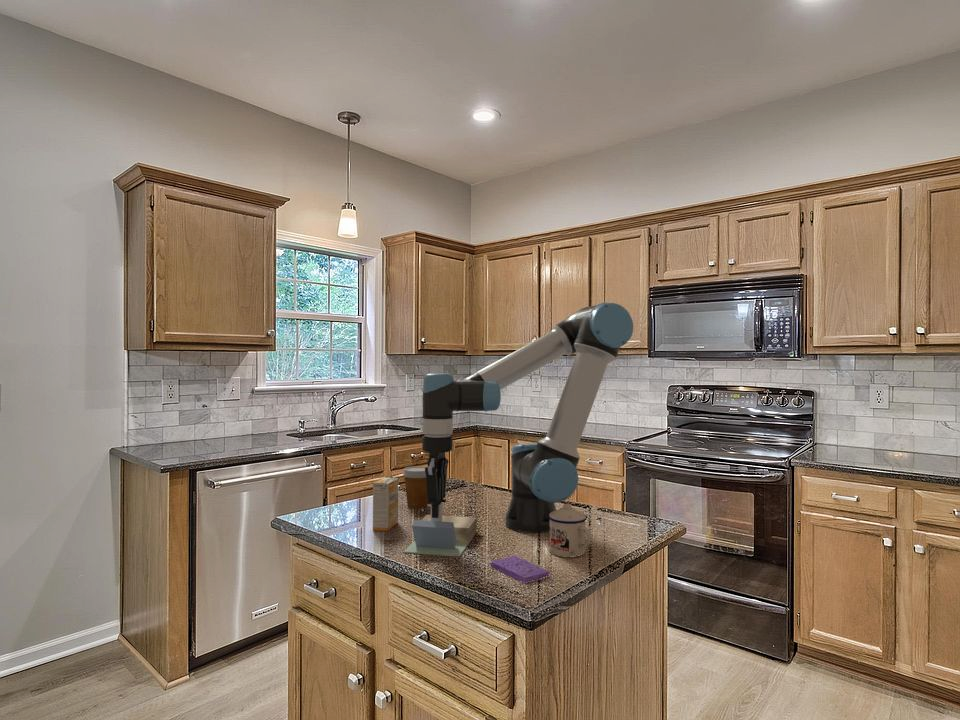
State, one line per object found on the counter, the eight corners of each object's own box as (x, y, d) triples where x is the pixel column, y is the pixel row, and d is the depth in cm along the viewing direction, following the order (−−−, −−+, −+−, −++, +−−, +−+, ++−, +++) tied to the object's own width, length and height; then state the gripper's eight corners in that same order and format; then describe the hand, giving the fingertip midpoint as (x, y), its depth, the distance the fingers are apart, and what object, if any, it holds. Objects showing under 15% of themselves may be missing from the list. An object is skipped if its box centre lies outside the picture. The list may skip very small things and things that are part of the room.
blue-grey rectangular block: (453, 522, 140) (451, 528, 138) (456, 542, 143) (455, 549, 142) (414, 519, 142) (411, 525, 140) (418, 540, 145) (416, 546, 144)
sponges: (524, 586, 121) (524, 577, 121) (489, 568, 131) (490, 559, 131) (549, 579, 125) (550, 570, 125) (514, 562, 135) (514, 554, 135)
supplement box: (388, 531, 157) (388, 483, 157) (372, 530, 158) (372, 482, 158) (399, 523, 165) (399, 477, 165) (383, 522, 166) (383, 476, 166)
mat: (468, 544, 147) (468, 542, 147) (459, 556, 137) (459, 555, 137) (415, 540, 149) (415, 539, 149) (403, 552, 140) (403, 551, 140)
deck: (476, 532, 157) (476, 517, 157) (468, 543, 147) (468, 528, 147) (427, 529, 159) (427, 514, 159) (415, 540, 150) (416, 524, 149)
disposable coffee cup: (431, 510, 179) (431, 471, 179) (400, 510, 179) (400, 471, 179) (433, 502, 189) (434, 466, 188) (404, 502, 189) (404, 465, 189)
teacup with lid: (540, 550, 142) (541, 503, 142) (566, 543, 147) (566, 498, 147) (577, 564, 132) (577, 513, 132) (603, 556, 138) (603, 507, 138)
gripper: (430, 431, 151) (429, 521, 151) (414, 437, 138) (413, 536, 138) (458, 432, 150) (457, 523, 150) (444, 439, 137) (443, 538, 137)
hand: (436, 529), depth 144 cm, fingers closed
